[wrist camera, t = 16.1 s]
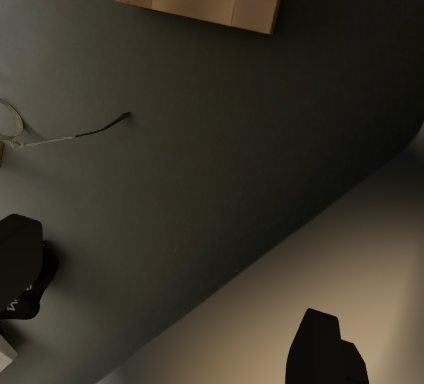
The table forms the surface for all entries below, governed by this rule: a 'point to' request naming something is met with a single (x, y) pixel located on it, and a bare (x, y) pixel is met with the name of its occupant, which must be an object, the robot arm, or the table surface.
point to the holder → (220, 11)
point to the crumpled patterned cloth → (32, 291)
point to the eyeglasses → (20, 128)
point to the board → (6, 353)
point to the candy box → (1, 151)
